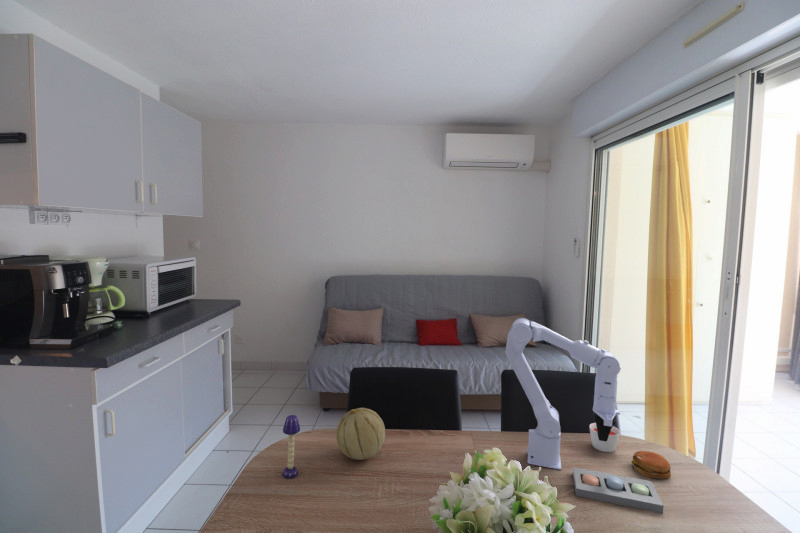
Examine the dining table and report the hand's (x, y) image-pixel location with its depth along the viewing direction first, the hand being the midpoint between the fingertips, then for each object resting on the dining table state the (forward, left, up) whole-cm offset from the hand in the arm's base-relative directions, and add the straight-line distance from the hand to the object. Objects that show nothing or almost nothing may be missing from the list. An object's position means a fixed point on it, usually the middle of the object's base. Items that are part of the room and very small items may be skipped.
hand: (602, 440), depth 120 cm
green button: (+8, -10, -9) cm, 16 cm away
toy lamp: (-83, -34, -10) cm, 90 cm away
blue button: (+2, -10, -8) cm, 13 cm away
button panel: (+2, -10, -9) cm, 14 cm away
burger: (+14, +6, -10) cm, 18 cm away
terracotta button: (-4, -10, -9) cm, 14 cm away
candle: (+3, +16, -10) cm, 19 cm away
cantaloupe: (-69, -18, -10) cm, 72 cm away
